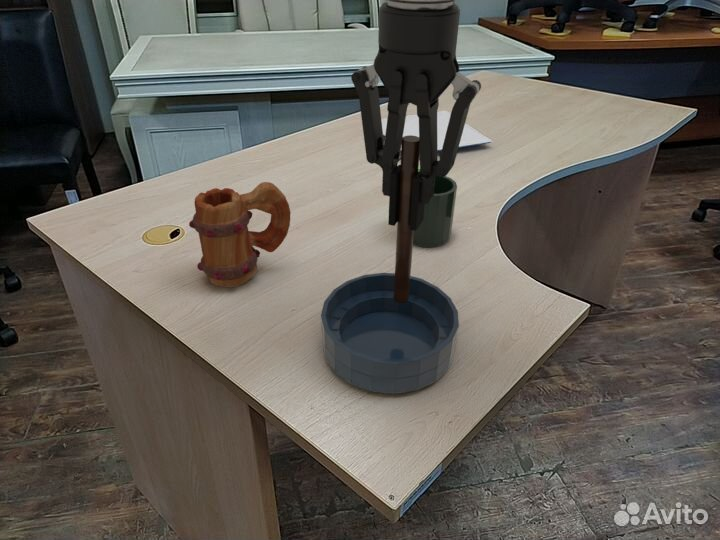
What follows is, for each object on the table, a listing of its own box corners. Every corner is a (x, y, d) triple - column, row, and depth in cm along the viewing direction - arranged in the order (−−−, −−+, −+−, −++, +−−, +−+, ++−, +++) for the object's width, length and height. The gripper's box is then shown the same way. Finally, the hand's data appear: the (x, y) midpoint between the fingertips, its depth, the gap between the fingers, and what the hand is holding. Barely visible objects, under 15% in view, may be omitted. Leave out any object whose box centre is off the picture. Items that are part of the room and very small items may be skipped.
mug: (202, 298, 78) (184, 209, 69) (198, 268, 84) (180, 183, 76) (299, 281, 82) (293, 194, 73) (288, 253, 88) (281, 170, 79)
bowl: (467, 325, 74) (473, 292, 70) (429, 416, 61) (434, 381, 57) (355, 293, 79) (355, 261, 76) (299, 371, 67) (296, 336, 63)
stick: (410, 296, 70) (423, 136, 57) (405, 305, 68) (417, 143, 55) (396, 292, 70) (405, 134, 57) (391, 301, 69) (399, 140, 56)
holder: (455, 229, 95) (462, 178, 89) (442, 252, 89) (448, 199, 83) (413, 220, 97) (417, 170, 91) (398, 241, 91) (401, 189, 85)
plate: (491, 148, 124) (493, 140, 123) (405, 162, 118) (406, 153, 116) (445, 117, 141) (446, 109, 140) (368, 127, 135) (368, 120, 133)
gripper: (328, 2, 48) (334, 223, 62) (491, 15, 43) (459, 253, 57) (362, -9, 54) (360, 196, 68) (509, 1, 49) (476, 221, 63)
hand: (405, 222), depth 62 cm, fingers closed on stick, 2 cm apart
